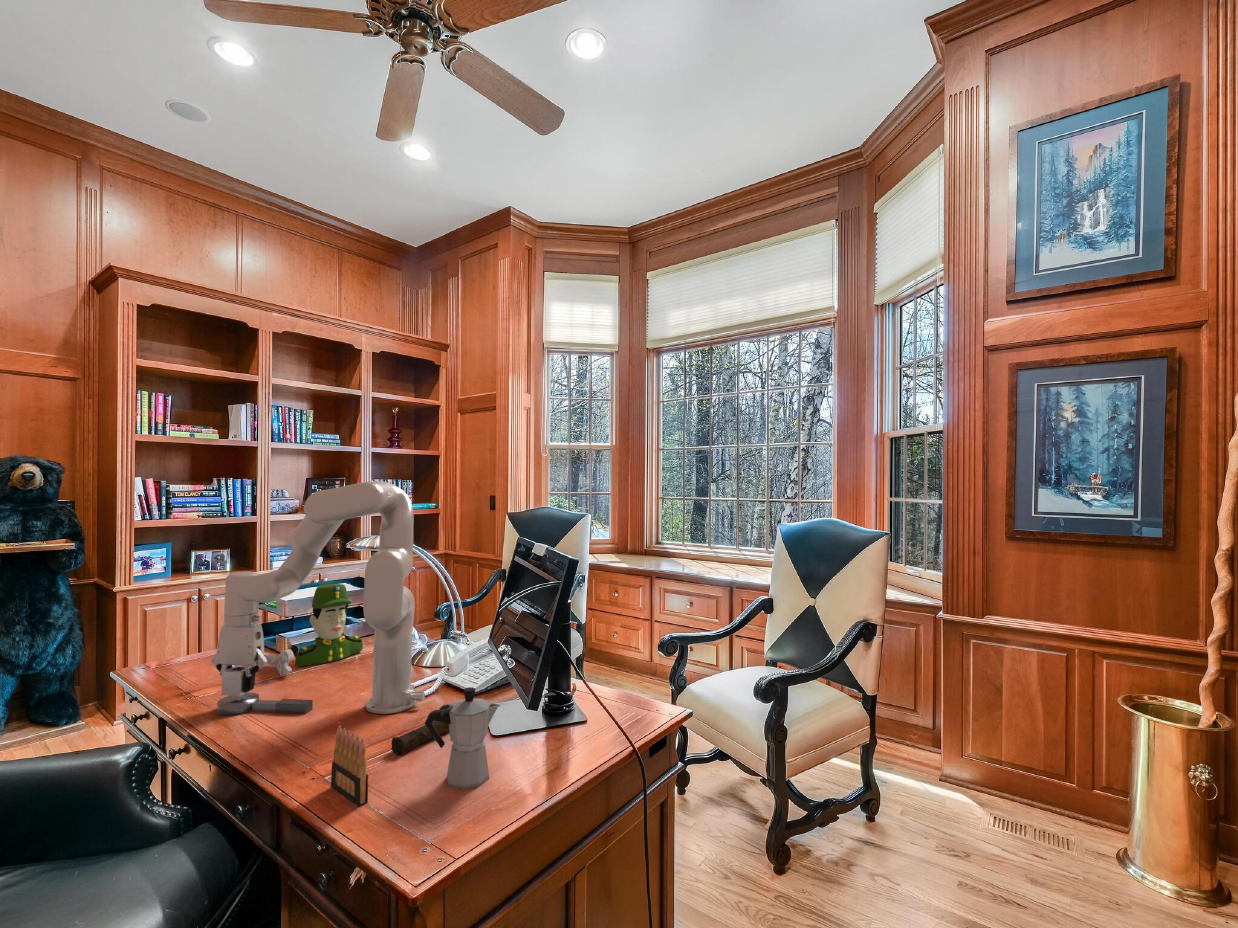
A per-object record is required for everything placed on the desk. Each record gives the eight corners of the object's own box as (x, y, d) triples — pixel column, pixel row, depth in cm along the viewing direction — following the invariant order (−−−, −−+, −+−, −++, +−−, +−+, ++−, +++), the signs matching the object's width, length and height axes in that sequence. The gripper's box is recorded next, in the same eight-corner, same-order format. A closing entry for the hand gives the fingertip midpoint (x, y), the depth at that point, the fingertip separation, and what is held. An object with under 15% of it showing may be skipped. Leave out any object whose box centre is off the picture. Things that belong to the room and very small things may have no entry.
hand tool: (400, 758, 123) (401, 737, 124) (389, 753, 126) (390, 732, 126) (469, 728, 139) (469, 709, 139) (458, 724, 141) (458, 705, 141)
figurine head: (304, 671, 176) (306, 590, 177) (287, 664, 183) (289, 586, 184) (371, 655, 194) (373, 581, 195) (353, 648, 201) (355, 577, 202)
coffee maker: (495, 762, 122) (497, 677, 123) (503, 782, 114) (505, 692, 114) (422, 774, 116) (424, 686, 117) (424, 797, 108) (427, 702, 109)
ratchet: (319, 704, 151) (319, 683, 151) (298, 718, 142) (298, 696, 142) (234, 701, 153) (234, 680, 153) (208, 715, 144) (209, 693, 144)
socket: (253, 688, 150) (254, 665, 150) (240, 695, 145) (241, 672, 145) (235, 687, 150) (236, 665, 151) (221, 695, 146) (222, 671, 146)
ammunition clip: (368, 802, 106) (369, 737, 107) (358, 806, 105) (360, 741, 105) (340, 783, 113) (341, 722, 113) (330, 787, 111) (332, 725, 112)
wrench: (256, 667, 188) (295, 677, 170) (249, 669, 187) (288, 679, 169) (255, 642, 189) (294, 649, 171) (249, 644, 188) (288, 651, 169)
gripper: (281, 617, 152) (279, 686, 151) (220, 615, 153) (217, 683, 152) (262, 624, 144) (259, 697, 144) (198, 622, 145) (195, 694, 145)
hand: (238, 689), depth 148 cm, fingers closed on socket, 5 cm apart
